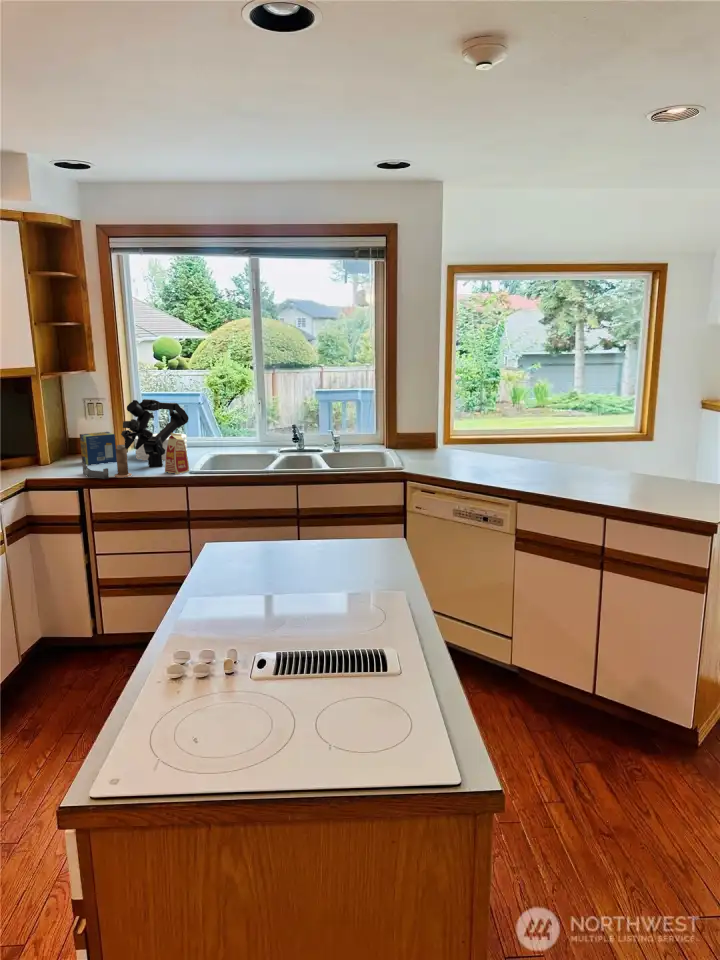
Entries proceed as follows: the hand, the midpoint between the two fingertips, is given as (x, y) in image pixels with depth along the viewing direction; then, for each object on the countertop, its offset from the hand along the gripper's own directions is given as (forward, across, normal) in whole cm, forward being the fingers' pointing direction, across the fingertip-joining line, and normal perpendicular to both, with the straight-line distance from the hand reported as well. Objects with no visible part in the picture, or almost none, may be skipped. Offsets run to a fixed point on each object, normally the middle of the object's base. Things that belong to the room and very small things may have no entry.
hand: (130, 449), depth 314 cm
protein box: (+2, -39, +8) cm, 40 cm away
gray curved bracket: (+18, -7, -7) cm, 21 cm away
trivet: (+15, +3, 0) cm, 15 cm away
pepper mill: (+14, +3, 0) cm, 14 cm away
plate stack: (-14, -27, +35) cm, 46 cm away
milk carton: (+4, +16, +19) cm, 25 cm away
